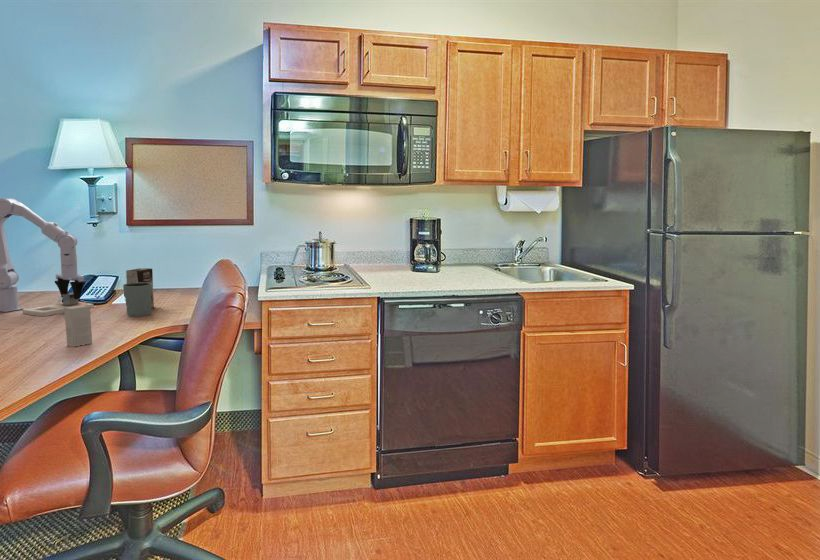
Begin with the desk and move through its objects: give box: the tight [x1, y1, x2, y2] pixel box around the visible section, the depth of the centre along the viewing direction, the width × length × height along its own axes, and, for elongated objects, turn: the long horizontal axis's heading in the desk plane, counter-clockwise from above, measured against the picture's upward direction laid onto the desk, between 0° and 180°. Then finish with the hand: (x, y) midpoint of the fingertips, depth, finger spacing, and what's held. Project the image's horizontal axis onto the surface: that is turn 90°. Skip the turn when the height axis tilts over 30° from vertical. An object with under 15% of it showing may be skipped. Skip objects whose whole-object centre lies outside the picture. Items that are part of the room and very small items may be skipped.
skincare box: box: [64, 305, 93, 348], centre depth 202 cm, size 6×4×12 cm
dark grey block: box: [62, 292, 80, 306], centre depth 263 cm, size 4×4×6 cm
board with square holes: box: [21, 301, 94, 317], centre depth 259 cm, size 12×22×2 cm, turn 154°
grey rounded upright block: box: [122, 282, 152, 318], centre depth 252 cm, size 10×10×12 cm
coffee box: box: [125, 267, 155, 309], centre depth 264 cm, size 9×6×16 cm
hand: (70, 298), depth 263 cm, fingers open, 7 cm apart
